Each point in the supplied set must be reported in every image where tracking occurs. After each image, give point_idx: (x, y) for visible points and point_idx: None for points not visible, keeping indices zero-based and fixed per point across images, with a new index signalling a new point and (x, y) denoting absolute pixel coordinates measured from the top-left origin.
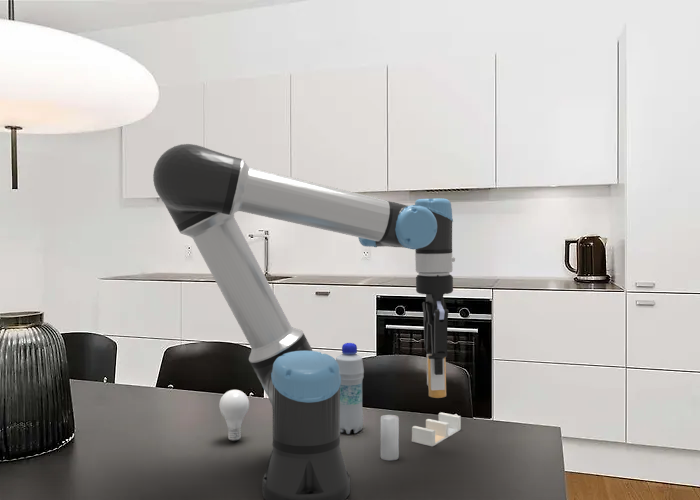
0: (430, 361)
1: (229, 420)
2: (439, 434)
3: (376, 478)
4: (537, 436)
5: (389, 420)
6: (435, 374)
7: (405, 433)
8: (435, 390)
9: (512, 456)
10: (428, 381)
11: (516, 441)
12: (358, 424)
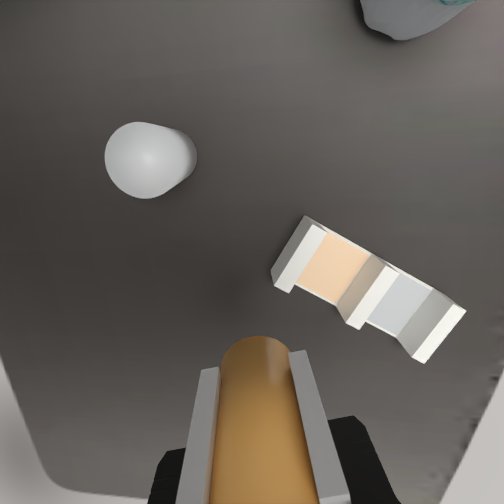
0: (202, 492)
1: None
2: (348, 291)
3: (12, 128)
4: None
5: (105, 163)
6: (173, 450)
7: (374, 193)
8: None
9: None
10: (253, 374)
11: None
12: (374, 21)
